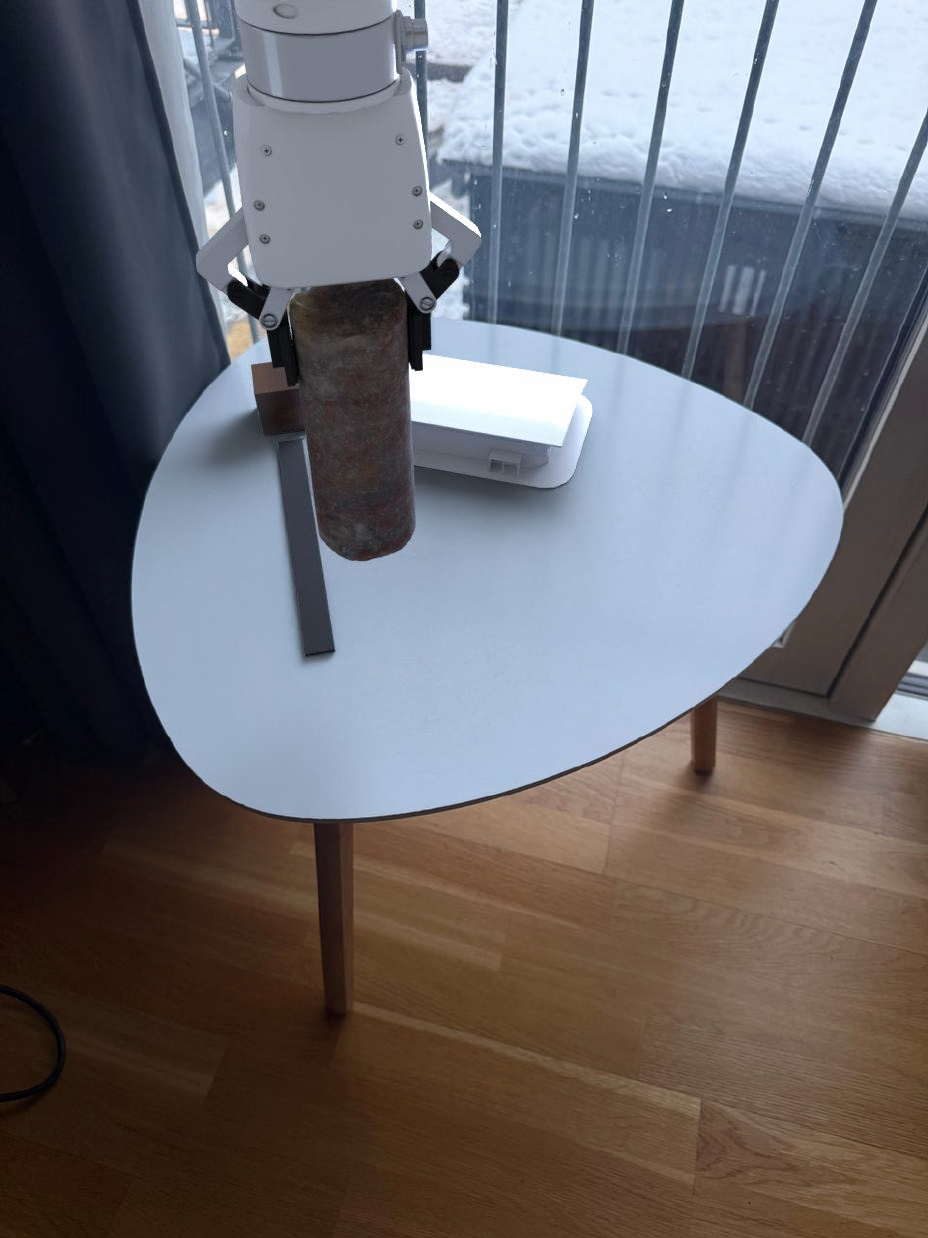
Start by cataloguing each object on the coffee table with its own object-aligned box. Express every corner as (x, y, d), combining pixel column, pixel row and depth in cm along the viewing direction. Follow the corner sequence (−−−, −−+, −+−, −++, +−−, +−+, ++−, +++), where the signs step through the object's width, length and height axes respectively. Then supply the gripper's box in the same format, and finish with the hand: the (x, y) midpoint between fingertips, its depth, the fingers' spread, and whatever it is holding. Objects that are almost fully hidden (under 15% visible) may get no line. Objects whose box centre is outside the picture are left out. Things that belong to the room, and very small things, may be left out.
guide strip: (305, 656, 72) (304, 654, 72) (277, 443, 89) (277, 441, 89) (335, 651, 73) (334, 649, 72) (302, 440, 90) (301, 437, 89)
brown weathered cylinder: (437, 547, 68) (429, 305, 53) (352, 588, 66) (318, 346, 50) (384, 491, 73) (363, 251, 57) (303, 527, 70) (257, 286, 55)
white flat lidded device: (568, 493, 84) (571, 460, 81) (335, 450, 88) (331, 418, 85) (597, 395, 94) (602, 363, 91) (386, 361, 98) (384, 329, 95)
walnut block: (263, 436, 90) (254, 394, 86) (260, 405, 93) (250, 364, 89) (313, 429, 91) (306, 387, 87) (308, 399, 94) (301, 357, 90)
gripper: (479, 16, 48) (473, 319, 61) (138, 37, 45) (211, 349, 59) (514, 68, 43) (500, 384, 56) (136, 95, 41) (215, 419, 54)
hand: (352, 364), depth 58 cm, fingers closed on brown weathered cylinder, 7 cm apart
